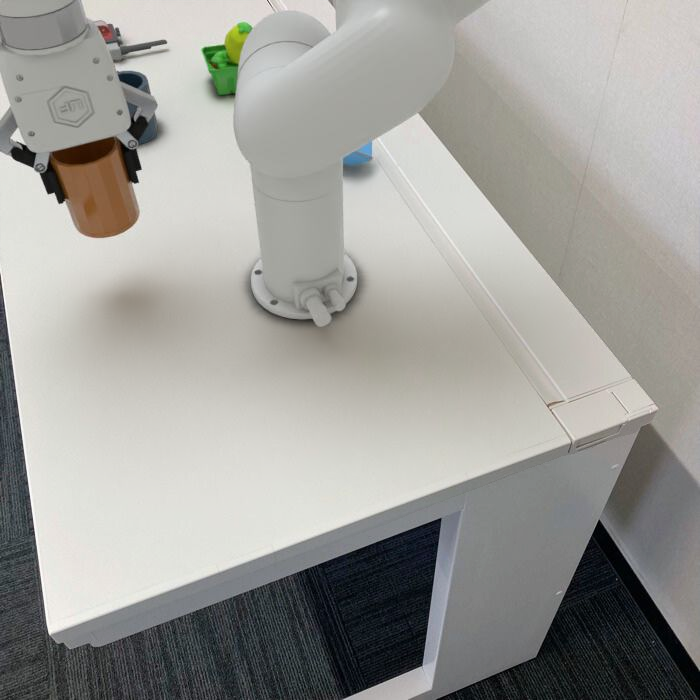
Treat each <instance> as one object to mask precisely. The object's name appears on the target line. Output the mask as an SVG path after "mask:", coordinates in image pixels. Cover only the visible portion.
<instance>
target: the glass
mask: <svg viewBox="0 0 700 700" xmlns="http://www.w3.org/2000/svg"><path fill="white" fill-rule="evenodd" d="M49 160H50V163H51V165H52V167H53V169H54V172H55V175H56V177H57V180H58V183H59V185H60V188H61V191H62V193H63V196H64V199H65V201H64V203H65V204H66V208H67V210H68V213H69V215H70V217H71V220H72V223H73V226H74V227H75V229H76V231H77V232H78V233H79V234H81V235H83V236H84V237H88V238H92V239H106V238H111V237H116V236H119V235H122V234H123V233H125V232H127V231H128V230H130V229H131V228H132V227H134V225H136V223H137V221H138V220H139V218H140V207H139V203H138V200H137V195H136V193H135V189H134V186H133V183H132V182H131V179H130V176H129V172H128V169H127V165H126V162H125V158H124V155H123V152H122V148H121V144H120V141H119V139H118V138H117V137H116V136H113V137H109V138H106V139H102V140H98V141H94V142H90V143H86V144H82V145H78V146H74V147H70V148H66V149H62V150H58V151H54V152H50V156H49Z"/></svg>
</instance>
